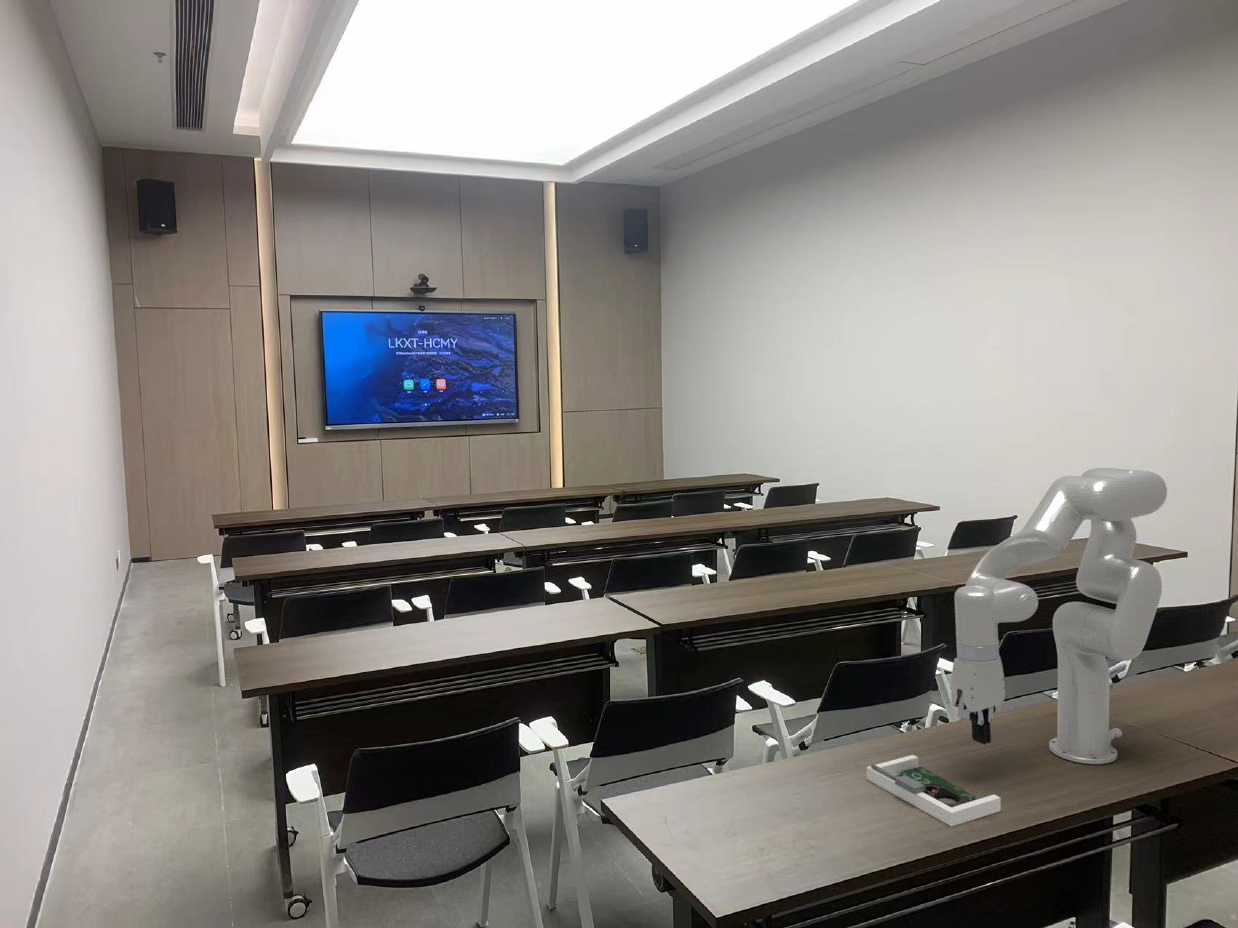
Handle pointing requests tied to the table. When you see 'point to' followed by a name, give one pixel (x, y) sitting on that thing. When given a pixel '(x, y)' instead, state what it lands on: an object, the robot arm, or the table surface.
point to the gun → (938, 786)
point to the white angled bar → (914, 794)
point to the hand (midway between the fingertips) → (981, 740)
